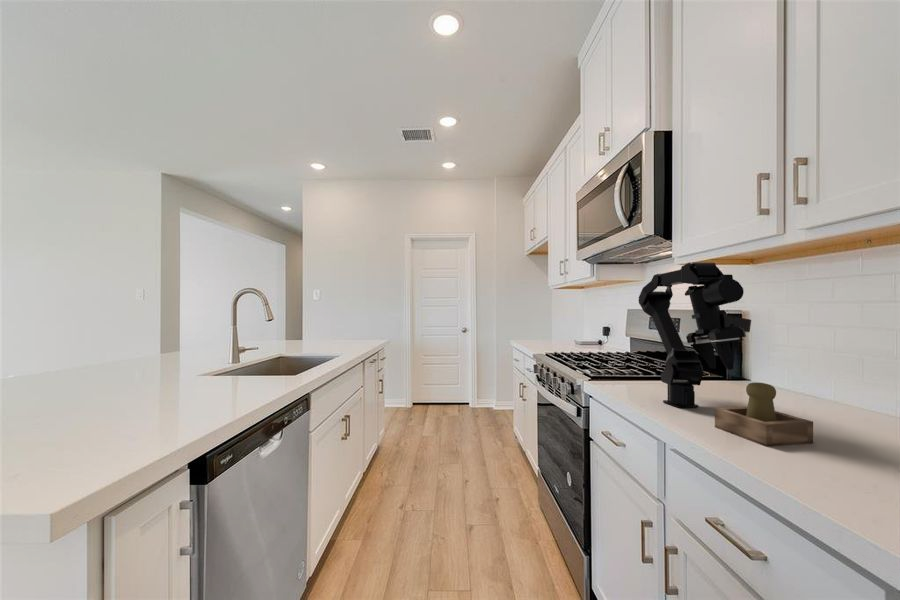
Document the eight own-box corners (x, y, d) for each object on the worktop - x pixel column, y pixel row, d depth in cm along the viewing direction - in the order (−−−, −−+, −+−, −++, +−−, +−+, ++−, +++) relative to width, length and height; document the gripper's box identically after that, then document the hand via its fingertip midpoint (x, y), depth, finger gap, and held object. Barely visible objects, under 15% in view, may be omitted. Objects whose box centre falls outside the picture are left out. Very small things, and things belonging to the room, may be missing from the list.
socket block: (714, 427, 87) (714, 408, 87) (756, 424, 90) (756, 405, 90) (766, 446, 76) (766, 424, 76) (813, 442, 78) (813, 421, 78)
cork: (759, 436, 80) (759, 386, 80) (737, 427, 86) (736, 380, 86) (786, 436, 80) (786, 386, 80) (762, 427, 86) (762, 380, 86)
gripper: (762, 298, 85) (781, 366, 82) (723, 308, 103) (738, 364, 100) (708, 305, 87) (725, 371, 85) (680, 314, 105) (693, 369, 102)
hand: (721, 369), depth 93 cm, fingers open, 9 cm apart
